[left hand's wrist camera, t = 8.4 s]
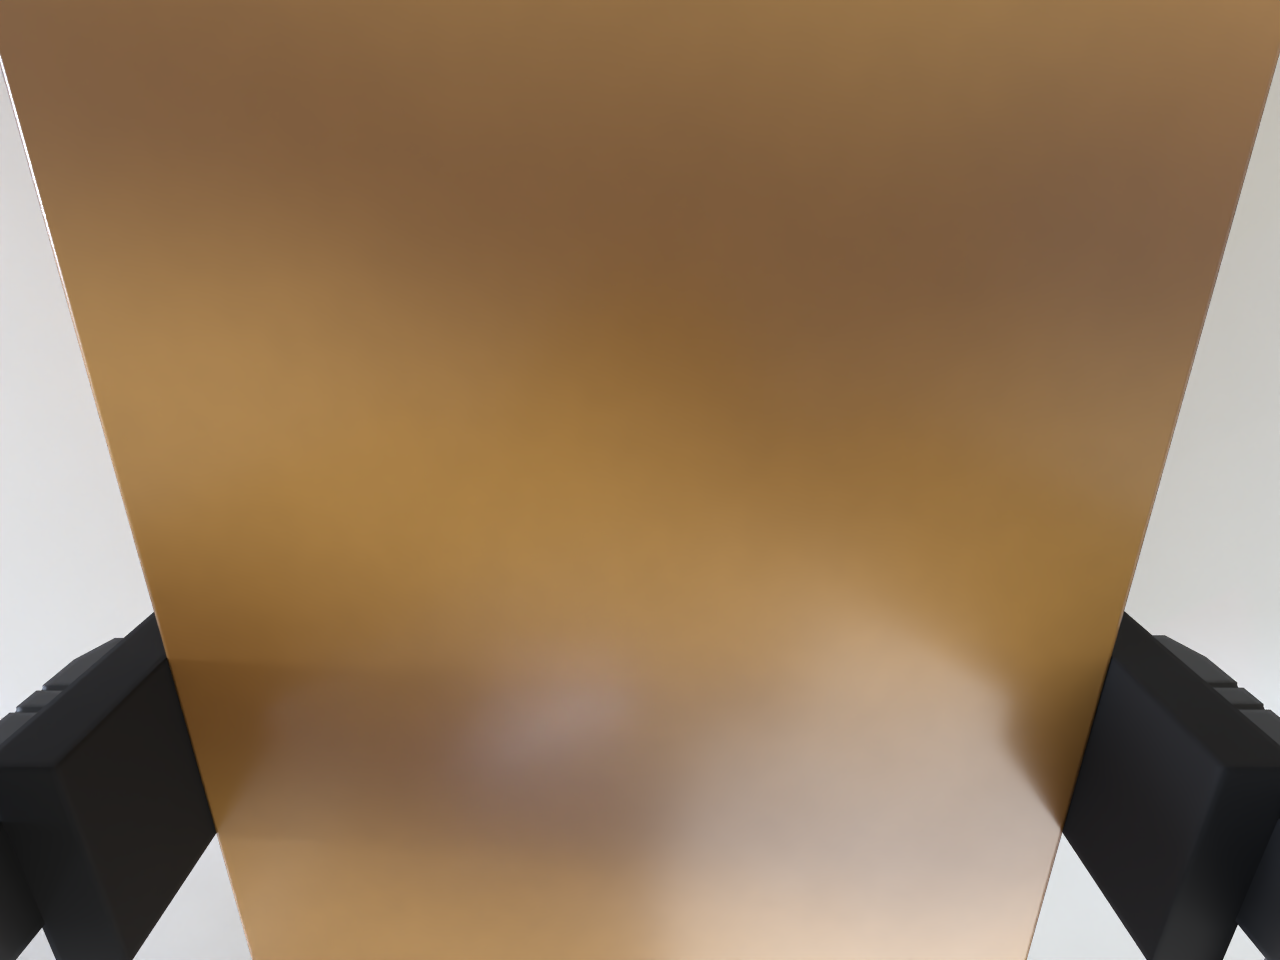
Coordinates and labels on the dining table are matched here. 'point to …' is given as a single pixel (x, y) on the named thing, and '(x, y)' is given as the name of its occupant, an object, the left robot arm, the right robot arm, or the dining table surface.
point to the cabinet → (638, 439)
